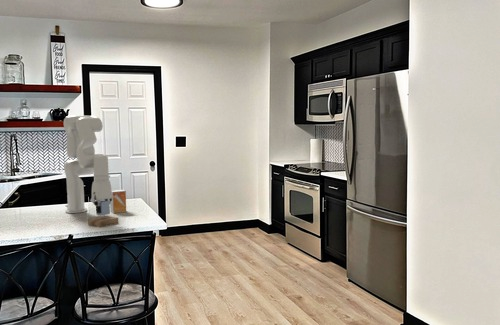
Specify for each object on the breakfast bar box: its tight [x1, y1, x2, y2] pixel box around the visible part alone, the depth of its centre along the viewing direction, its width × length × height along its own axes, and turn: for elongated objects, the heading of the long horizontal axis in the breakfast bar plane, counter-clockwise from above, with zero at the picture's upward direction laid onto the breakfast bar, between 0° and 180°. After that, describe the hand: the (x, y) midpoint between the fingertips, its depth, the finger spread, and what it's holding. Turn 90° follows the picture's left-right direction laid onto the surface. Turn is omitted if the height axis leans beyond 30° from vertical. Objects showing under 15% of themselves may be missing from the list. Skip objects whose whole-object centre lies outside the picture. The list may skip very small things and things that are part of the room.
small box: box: [110, 189, 127, 214], centre depth 280 cm, size 8×6×13 cm
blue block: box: [95, 200, 111, 216], centre depth 247 cm, size 5×5×7 cm
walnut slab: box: [87, 215, 119, 228], centre depth 248 cm, size 11×11×3 cm
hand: (102, 211), depth 247 cm, fingers closed on blue block, 5 cm apart
